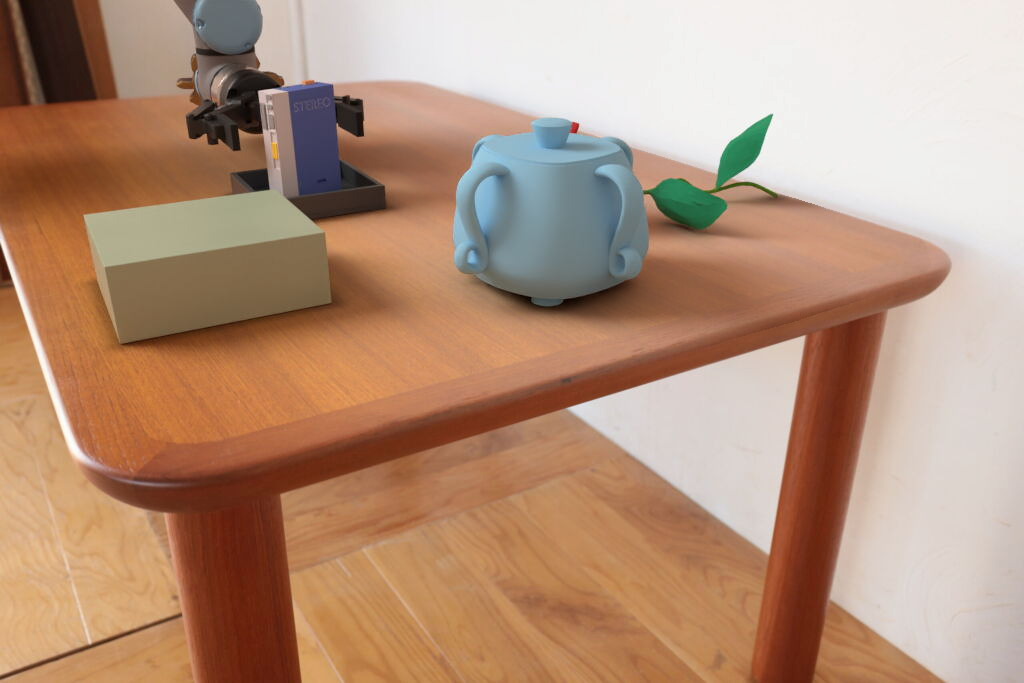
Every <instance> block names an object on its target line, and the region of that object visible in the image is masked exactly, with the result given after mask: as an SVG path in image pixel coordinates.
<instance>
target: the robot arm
mask: <svg viewBox="0 0 1024 683" xmlns="http://www.w3.org/2000/svg"><path fill="white" fill-rule="evenodd" d="M173 2H174V3H175V5H176V6H177V7H178V8H179V10H180V11H181V13H182V14H183V16H184V17H185V18H186V19H187V21H188V22H189V23H190V24H191V26H192V32H193V38H194V39H193V40H194V45H195V54H196V57H197V64H198V68H197V70H196V74H195V86H196V89H197V92H198V94H199V96H200V97H201V98H202V101H201V105H200V106H198V105H197V107H195V108H194V109H193V110H191V111H190V112H189V113H187V114H186V115H185V121H186V128H187V134H188V139H190V140H198V139H200V138H202V137H203V136H204V135H206V140H207V145H208V146H218V145H219V140H220V141H221V142H222V143H223V144H225V146H226V147H228V148H229V149H230V150H231V151H233V152H239V151H241V152H242V147H241V146H242V145H241V139H240V132H239V131H242V132H243V133H246V134H250V135H263V128H262V119H261V111H260V103H259V94H258V91H261V90H268V89H274V88H280V87H281V86H280V85H279V83H278V82H277V81H276V80H275V79H273V78H272V77H270V76H269V75H267V74H265V73H263V72H261V70H259V69H258V70H257V63H256V56H257V54H256V47H255V46H256V44H257V43H258V41H259V39H260V38H261V35H262V31H263V26H264V25H263V24H264V22H263V21H264V19H263V18H264V17H263V14H262V9H261V6H260V4H259V3H258V1H257V0H173ZM255 54H256V55H255ZM334 101H335V113H336V124H337V128H340V129H342V130H344V131H346V132H348V133H349V134H351V135H353V136H355V137H357V138H363V137H365V126H364V122H365V109H364V99H362V98H360V97H359V98H354V97H351V95H350V94H345V95H343V96H342V95H341V96H340V95H334Z"/></svg>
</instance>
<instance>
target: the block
mask: <svg viewBox="0 0 1024 683" xmlns="http://www.w3.org/2000/svg"><path fill="white" fill-rule="evenodd" d="M83 219H84V224H85V225H84V226H85V229H86V234H87V238H88V244H89V249H90V253H91V257H92V263H93V268H94V272H95V276H96V280H97V281H96V282H97V284H98V287H99V290H100V292H101V295H102V298H103V301H104V304H105V306H106V309H107V312H108V315H109V317H110V320H111V324H112V326H113V328H114V331H115V334H116V337H117V339H118V342H119V344H120V345H123V344H129V343H134V342H139V341H143V340H150V339H154V338H159V337H164V336H168V335H169V336H170V335H175V334H179V333H184V332H189V331H195V330H200V329H206V328H210V327H216V326H220V325H225V324H230V323H231V324H232V323H236V322H242V321H246V320H252V319H257V318H263V317H267V316H272V315H278V314H282V313H289V312H293V311H297V310H303V309H309V308H313V307H319V306H324V305H329V304H332V292H331V282H330V281H331V280H330V272H329V271H330V269H329V260H328V250H327V237H326V232H325V230H323V229H322V228H321V227H320V226H319V225H317V223H315V222H314V221H313V220H312V219H309V218H308V217H307V216H306V215H305V214H303V213H302V212H301V211H300V210H299V209H298V208H297V207H295V206H294V205H293V204H292V203H291V202H290V201H289V200H287V199H286V198H285V197H284V196H283V195H282V194H281V193H279V192H278V191H277V190H276V189H274V190H266V191H259V192H251V193H243V194H236V195H233V194H229V195H222V196H214V197H207V198H206V197H205V198H200V199H198V198H197V199H192V200H184V201H176V202H170V203H169V202H168V203H161V204H154V205H147V206H146V205H145V206H139V207H132V208H124V209H117V210H109V211H101V212H95V213H94V212H93V213H87V214H83Z"/></svg>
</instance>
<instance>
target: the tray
mask: <svg viewBox="0 0 1024 683" xmlns="http://www.w3.org/2000/svg"><path fill="white" fill-rule="evenodd" d="M339 160H340V172H341V184H342V190H337V191H330V192H323V193H315V194H308V195H301V196H294V197H286V199H287V200H289V201H290V202H291V203H292V204H293V205H294V206H295V207H297V208H298V209H299V210H300V211H301V212H302V213H303V214H305V215H306V216H307V217H308V218H309V219H310V220H316V219H324V218H330V217H335V216H341V215H348V214H356V213H362V212H368V211H376V210H381V209H383V210H384V209H387V197H386V185H385V184H383V183H382V182H380V181H378V180H377V179H376V178H374V177H372V176H371V175H369V174H367V173H366V172H365V171H363V170H361V169H360V168H359V167H357V166H355V165H354V164H352V163H350V162H348V161H347V160H345V158H339ZM229 177H230V185H231V192H232V195H236V194H243V193H251V192H259V191H266V190H270V187H269V178H268V170H267V167H266V168H265V167H264V168H258V169H250V170H242V171H241V170H240V171H234V172H233V171H232V172H229Z"/></svg>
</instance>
